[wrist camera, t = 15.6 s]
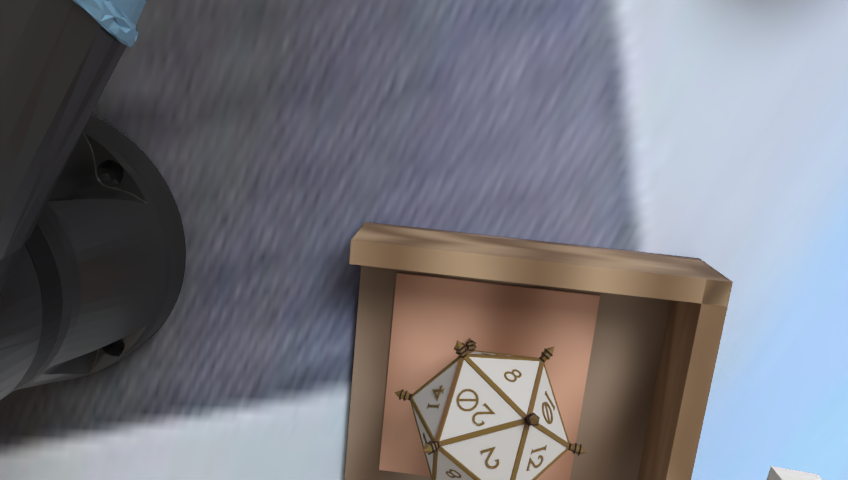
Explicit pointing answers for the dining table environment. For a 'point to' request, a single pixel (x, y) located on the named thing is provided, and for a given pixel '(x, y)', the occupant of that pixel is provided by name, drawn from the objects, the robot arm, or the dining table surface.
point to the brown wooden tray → (537, 344)
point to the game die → (490, 417)
